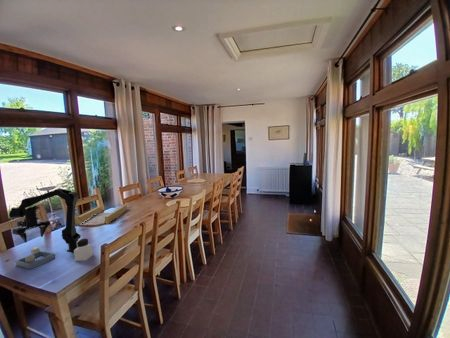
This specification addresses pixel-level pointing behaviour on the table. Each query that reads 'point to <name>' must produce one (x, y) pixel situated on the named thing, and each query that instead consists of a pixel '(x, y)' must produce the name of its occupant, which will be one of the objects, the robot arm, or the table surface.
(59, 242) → the table surface
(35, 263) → the dish
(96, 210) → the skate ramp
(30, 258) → the pebble
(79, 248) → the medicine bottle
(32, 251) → the pebble
